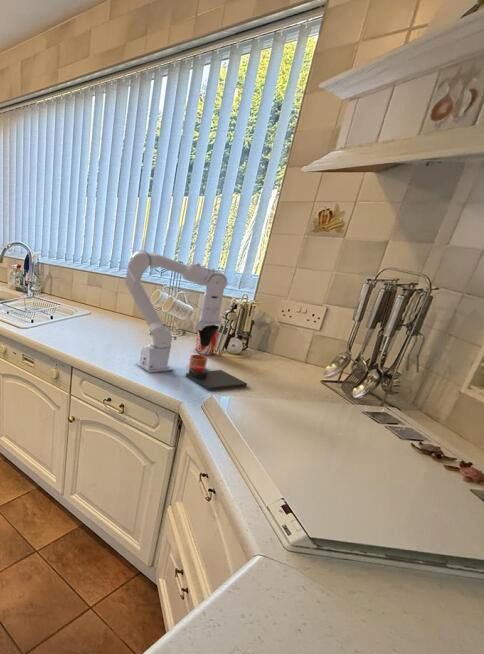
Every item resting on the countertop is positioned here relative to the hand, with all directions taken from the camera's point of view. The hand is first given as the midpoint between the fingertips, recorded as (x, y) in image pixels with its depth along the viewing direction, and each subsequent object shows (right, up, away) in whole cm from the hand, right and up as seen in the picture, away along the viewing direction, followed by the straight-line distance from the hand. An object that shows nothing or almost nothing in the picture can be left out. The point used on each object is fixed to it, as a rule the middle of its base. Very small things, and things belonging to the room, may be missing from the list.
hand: (204, 345), depth 140 cm
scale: (+1, -13, -4) cm, 13 cm away
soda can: (+12, -2, +23) cm, 26 cm away
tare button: (-3, -9, -2) cm, 10 cm away
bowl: (+1, -8, +8) cm, 11 cm away
